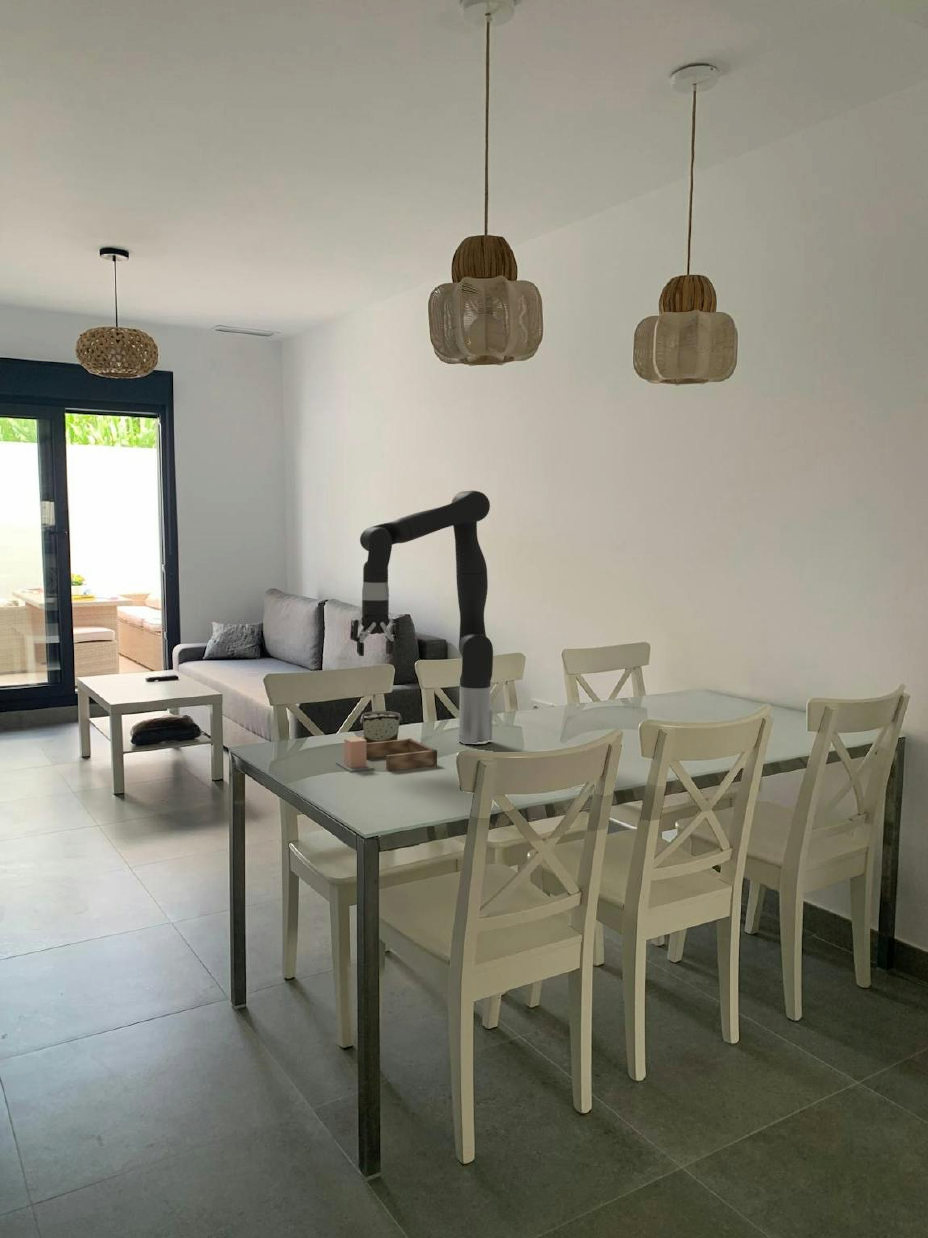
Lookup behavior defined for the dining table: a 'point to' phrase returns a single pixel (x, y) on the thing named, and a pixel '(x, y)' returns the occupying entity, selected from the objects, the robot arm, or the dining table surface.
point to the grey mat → (354, 767)
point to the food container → (380, 726)
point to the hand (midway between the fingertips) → (375, 654)
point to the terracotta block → (355, 752)
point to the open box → (402, 753)
